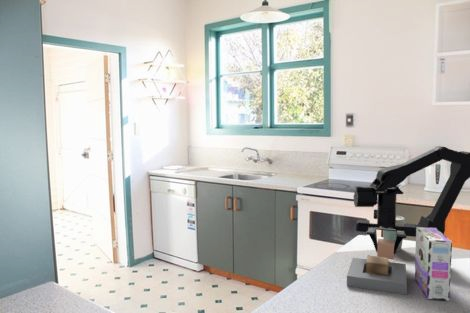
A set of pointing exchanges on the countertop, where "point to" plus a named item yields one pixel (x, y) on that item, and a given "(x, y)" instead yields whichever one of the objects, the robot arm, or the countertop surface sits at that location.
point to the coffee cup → (392, 234)
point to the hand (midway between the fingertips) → (385, 252)
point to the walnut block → (377, 265)
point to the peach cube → (385, 248)
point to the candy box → (433, 263)
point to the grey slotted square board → (378, 277)
